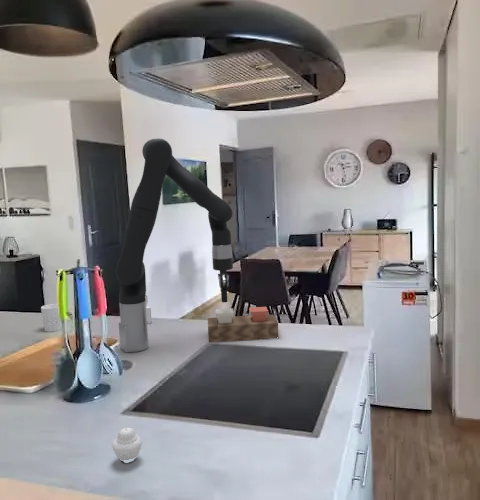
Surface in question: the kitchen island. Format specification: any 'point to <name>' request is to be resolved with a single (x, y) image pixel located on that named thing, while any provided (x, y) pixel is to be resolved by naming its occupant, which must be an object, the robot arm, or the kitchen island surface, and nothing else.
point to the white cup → (50, 317)
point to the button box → (242, 329)
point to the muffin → (127, 444)
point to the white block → (224, 315)
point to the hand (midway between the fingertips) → (224, 301)
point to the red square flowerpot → (258, 313)
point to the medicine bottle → (148, 312)
